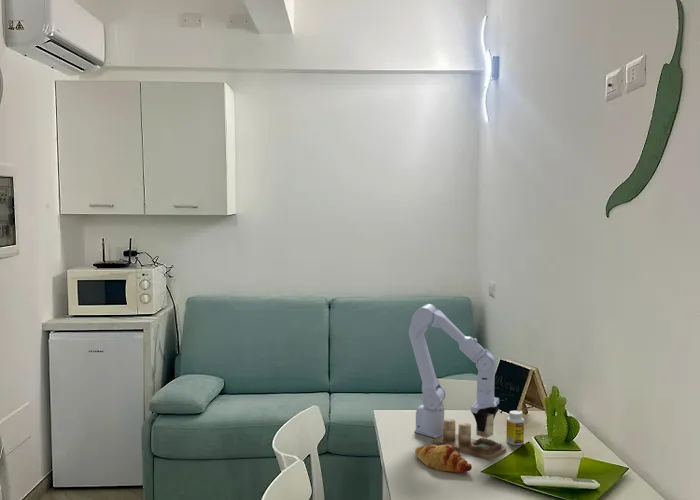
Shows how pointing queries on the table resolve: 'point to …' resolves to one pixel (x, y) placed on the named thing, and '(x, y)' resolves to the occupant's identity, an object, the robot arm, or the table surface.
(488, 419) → the maple block
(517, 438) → the supplement bottle
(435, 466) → the croissant
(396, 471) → the table surface
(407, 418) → the table surface
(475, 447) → the walnut rail
